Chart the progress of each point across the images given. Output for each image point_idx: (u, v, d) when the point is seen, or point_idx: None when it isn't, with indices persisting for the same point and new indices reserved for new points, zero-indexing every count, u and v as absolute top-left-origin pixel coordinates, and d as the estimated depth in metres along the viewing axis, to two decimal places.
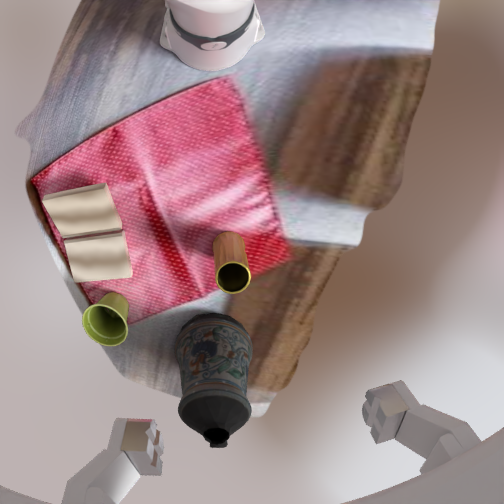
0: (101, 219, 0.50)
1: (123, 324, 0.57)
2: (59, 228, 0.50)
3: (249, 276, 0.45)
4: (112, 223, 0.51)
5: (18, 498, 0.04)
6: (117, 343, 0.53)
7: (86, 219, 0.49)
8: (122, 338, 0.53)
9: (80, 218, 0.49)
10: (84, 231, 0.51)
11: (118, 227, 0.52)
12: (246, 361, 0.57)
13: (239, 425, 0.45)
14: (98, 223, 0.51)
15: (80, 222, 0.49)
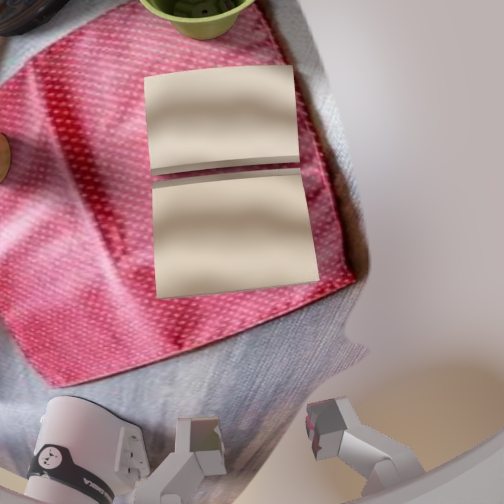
0: (186, 212, 0.25)
1: None
2: (300, 196, 0.26)
3: None
4: (165, 200, 0.25)
5: (18, 498, 0.04)
6: None
7: (222, 215, 0.25)
8: None
9: (236, 221, 0.25)
10: (240, 182, 0.26)
11: (155, 188, 0.25)
12: None
13: None
14: (197, 202, 0.25)
15: (240, 209, 0.25)
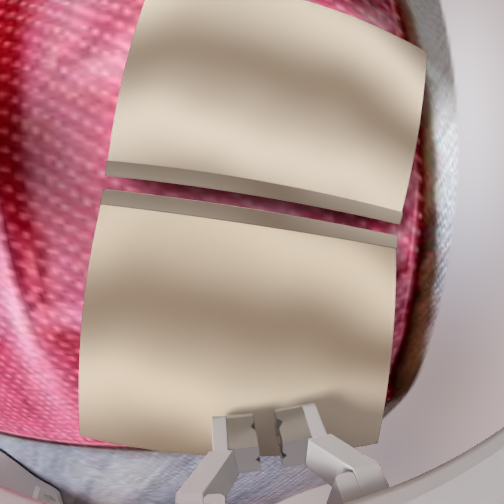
0: (161, 281, 0.11)
1: None
2: (388, 291, 0.13)
3: None
4: (121, 239, 0.11)
5: (17, 498, 0.04)
6: None
7: (237, 306, 0.11)
8: None
9: (265, 324, 0.11)
10: (288, 238, 0.12)
11: (107, 206, 0.11)
12: None
13: None
14: (188, 261, 0.11)
15: (278, 300, 0.12)
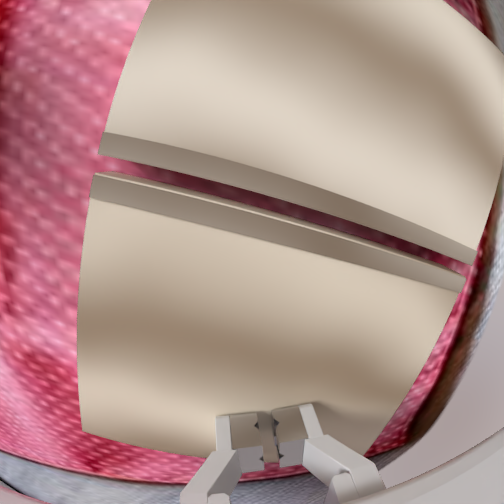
0: (173, 310, 0.08)
1: None
2: (431, 337, 0.10)
3: None
4: (120, 251, 0.08)
5: (17, 498, 0.04)
6: None
7: (264, 346, 0.09)
8: None
9: (291, 365, 0.10)
10: (347, 272, 0.09)
11: (100, 201, 0.07)
12: None
13: None
14: (211, 291, 0.08)
15: (313, 343, 0.09)
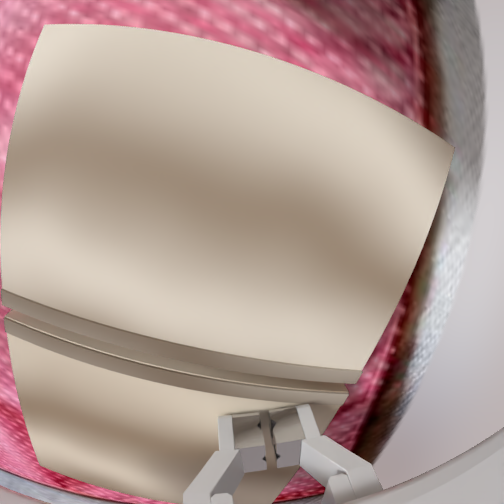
0: (76, 407, 0.09)
1: None
2: None
3: None
4: (33, 367, 0.09)
5: (17, 498, 0.04)
6: None
7: (145, 435, 0.10)
8: None
9: (171, 448, 0.10)
10: (201, 396, 0.10)
11: (13, 335, 0.08)
12: None
13: None
14: (96, 399, 0.09)
15: (184, 437, 0.10)
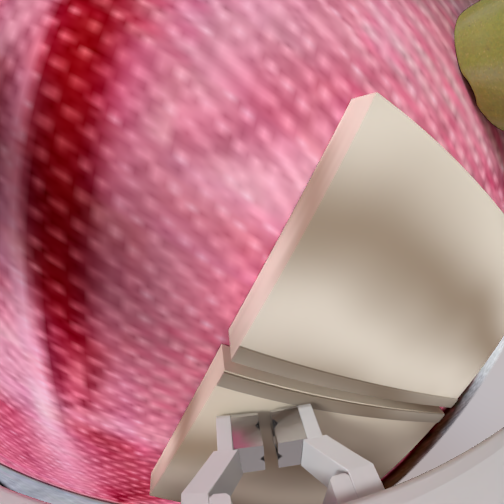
0: None
1: None
2: (410, 446, 0.13)
3: None
4: None
5: (18, 498, 0.04)
6: None
7: None
8: None
9: None
10: (372, 422, 0.11)
11: (224, 388, 0.10)
12: None
13: None
14: None
15: None
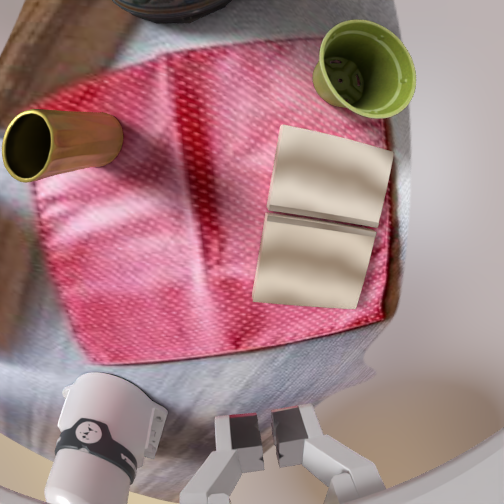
0: (289, 248, 0.33)
1: (335, 46, 0.24)
2: (367, 253, 0.34)
3: (3, 146, 0.15)
4: (275, 233, 0.33)
5: (18, 498, 0.04)
6: (360, 22, 0.19)
7: (313, 256, 0.34)
8: (344, 27, 0.20)
9: (321, 262, 0.34)
10: (333, 233, 0.33)
11: (269, 222, 0.32)
12: None
13: None
14: (298, 241, 0.33)
15: (326, 254, 0.34)
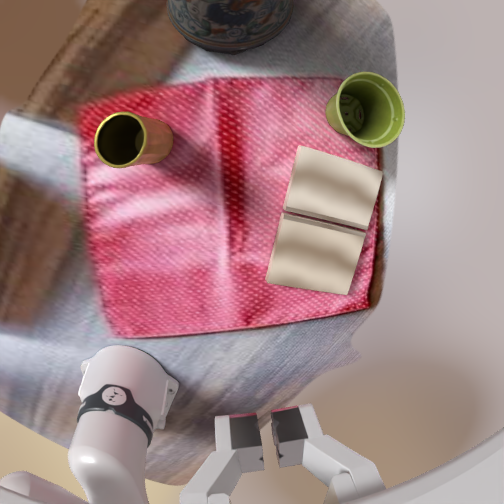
0: (298, 241, 0.43)
1: (346, 88, 0.34)
2: (358, 249, 0.44)
3: (96, 136, 0.24)
4: (288, 229, 0.42)
5: (17, 498, 0.04)
6: (367, 74, 0.30)
7: (316, 249, 0.43)
8: (356, 77, 0.30)
9: (322, 254, 0.44)
10: (332, 232, 0.43)
11: (285, 219, 0.41)
12: None
13: None
14: (306, 236, 0.43)
15: (326, 248, 0.43)
